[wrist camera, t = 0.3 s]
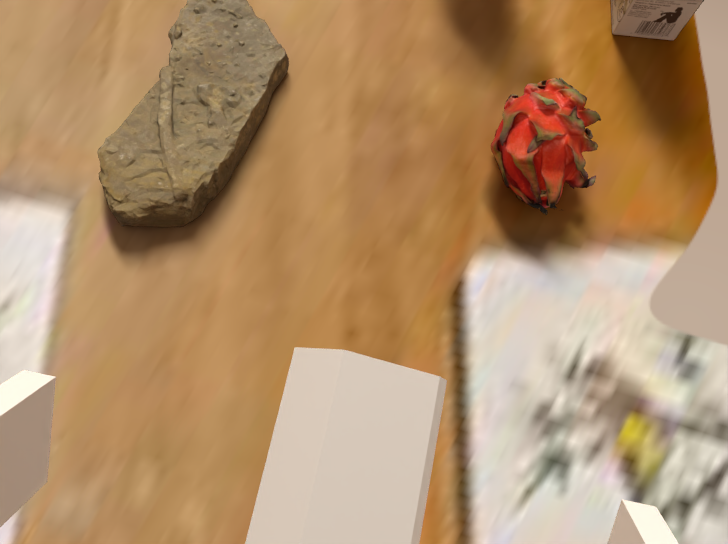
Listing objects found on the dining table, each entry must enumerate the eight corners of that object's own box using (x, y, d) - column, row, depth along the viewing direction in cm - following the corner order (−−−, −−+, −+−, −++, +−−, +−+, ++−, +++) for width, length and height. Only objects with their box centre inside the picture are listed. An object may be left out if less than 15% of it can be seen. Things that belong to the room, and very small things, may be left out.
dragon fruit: (537, 110, 61) (527, 234, 59) (474, 75, 56) (460, 209, 54) (620, 83, 54) (612, 221, 52) (557, 40, 49) (545, 191, 47)
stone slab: (227, 254, 53) (205, 226, 48) (97, 231, 55) (66, 202, 51) (315, 8, 63) (304, -35, 58) (202, -2, 65) (183, -44, 61)
